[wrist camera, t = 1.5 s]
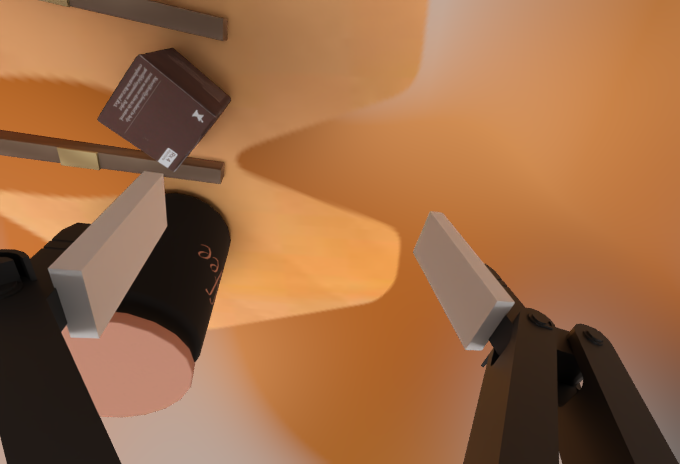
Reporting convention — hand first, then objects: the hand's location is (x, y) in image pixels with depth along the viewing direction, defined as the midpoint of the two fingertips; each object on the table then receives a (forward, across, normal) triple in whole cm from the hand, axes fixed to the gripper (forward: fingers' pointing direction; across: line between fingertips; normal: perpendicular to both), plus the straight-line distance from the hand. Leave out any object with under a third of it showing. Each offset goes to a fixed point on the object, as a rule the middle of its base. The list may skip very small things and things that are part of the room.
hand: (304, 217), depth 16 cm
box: (+19, -10, 0) cm, 22 cm away
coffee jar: (+19, -11, -14) cm, 26 cm away
